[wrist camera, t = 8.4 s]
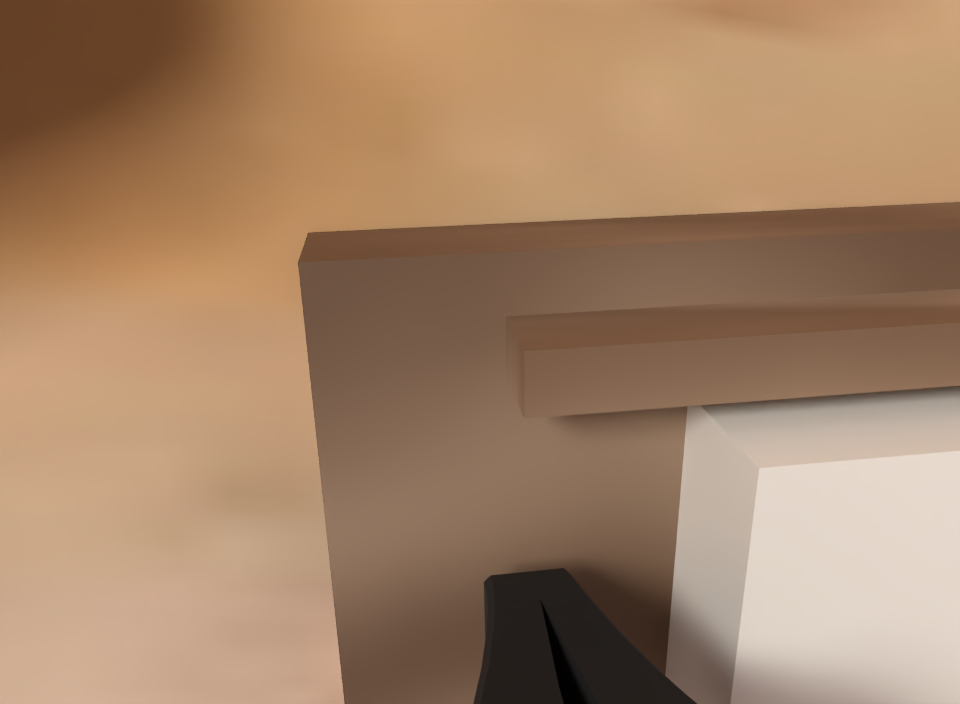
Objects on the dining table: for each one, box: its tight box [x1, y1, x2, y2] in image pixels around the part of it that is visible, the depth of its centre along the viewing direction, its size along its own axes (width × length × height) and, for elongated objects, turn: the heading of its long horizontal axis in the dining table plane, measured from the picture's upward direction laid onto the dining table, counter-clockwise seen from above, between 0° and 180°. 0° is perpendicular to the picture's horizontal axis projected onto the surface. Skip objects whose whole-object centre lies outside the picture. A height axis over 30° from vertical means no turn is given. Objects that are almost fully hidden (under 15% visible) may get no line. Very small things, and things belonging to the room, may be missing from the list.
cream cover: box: [665, 386, 960, 704], centre depth 13 cm, size 7×6×2 cm
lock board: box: [298, 202, 960, 704], centre depth 15 cm, size 15×18×4 cm
